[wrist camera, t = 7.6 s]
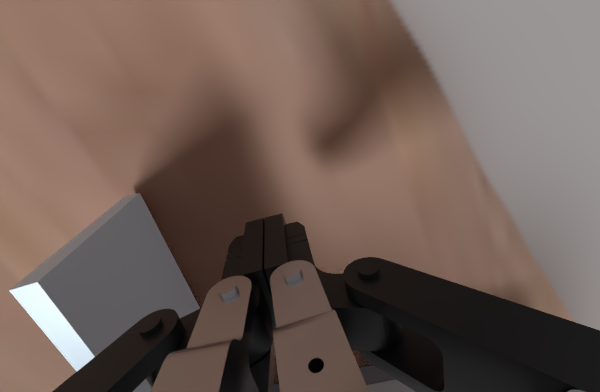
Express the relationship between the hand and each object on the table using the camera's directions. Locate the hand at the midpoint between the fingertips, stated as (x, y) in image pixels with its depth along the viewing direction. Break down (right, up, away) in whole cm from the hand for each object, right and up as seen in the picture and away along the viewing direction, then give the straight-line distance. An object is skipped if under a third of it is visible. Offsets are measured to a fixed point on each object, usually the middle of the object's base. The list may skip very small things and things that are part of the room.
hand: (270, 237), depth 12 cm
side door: (-6, -5, +6) cm, 10 cm away
